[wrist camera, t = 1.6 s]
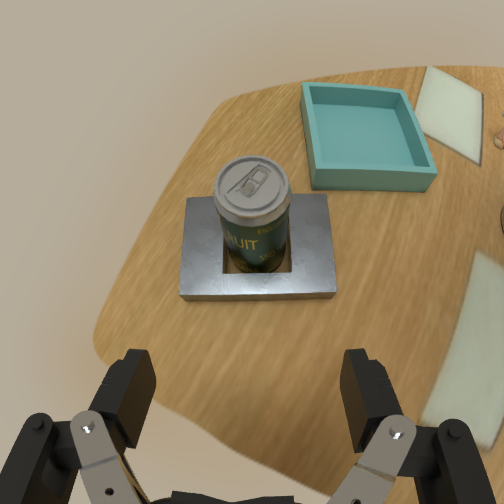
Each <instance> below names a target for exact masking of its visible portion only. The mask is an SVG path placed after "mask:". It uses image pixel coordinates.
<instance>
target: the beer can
mask: <svg viewBox="0 0 504 504" xmlns="http://www.w3.org/2000/svg"><path fill="white" fill-rule="evenodd" d="M213 197H214V204H215V207H216V211H217V214H218V217H219V220H220V224H221V227H222V230H223V233H224V236H225V240H226V243H227V246H228V249H229V252H230V255H231V258H232V260H233V262H234V264H235V265H236V266H237V267H238V268H239V269H240V270H242V271H244V272H246V273H268V272H270V271H272V270H274V269H275V268H276V267H277V266H278V265H279V264H280V263H281V261H282V259H283V257H284V254H285V245H286V236H287V227H288V217H289V208H290V198H291V188H290V184H289V181H288V179H287V175H286V173H285V171H284V170H283V169H282V167H281V166H280V165H279V164H278V163H276V162H275V161H273V160H272V159H269V158H267V157H264V156H259V155H247V156H241V157H238V158H236V159H233V160H231V161H229V162H228V163H227V164H226V165H225V166H223V167H222V168H221V170H220V171H219V173H218V174H217V176H216V180H215V184H214V192H213Z"/></svg>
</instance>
